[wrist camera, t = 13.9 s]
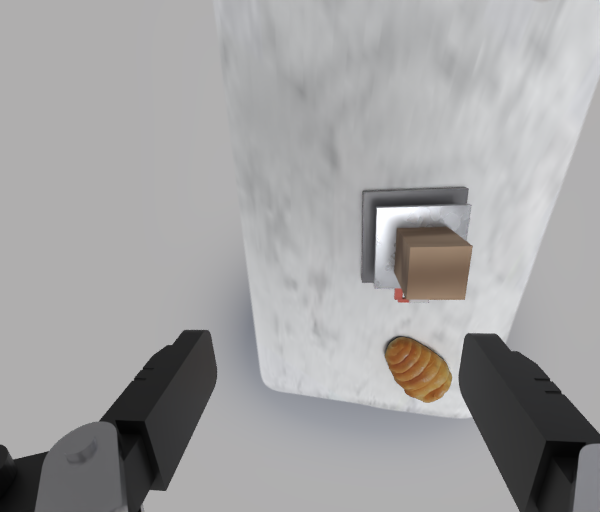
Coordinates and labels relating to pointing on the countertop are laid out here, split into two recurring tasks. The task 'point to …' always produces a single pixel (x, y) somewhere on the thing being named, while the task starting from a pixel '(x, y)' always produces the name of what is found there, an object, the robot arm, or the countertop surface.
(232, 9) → the countertop surface
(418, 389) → the pastry
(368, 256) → the base
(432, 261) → the walnut block
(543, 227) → the countertop surface
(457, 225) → the pan
